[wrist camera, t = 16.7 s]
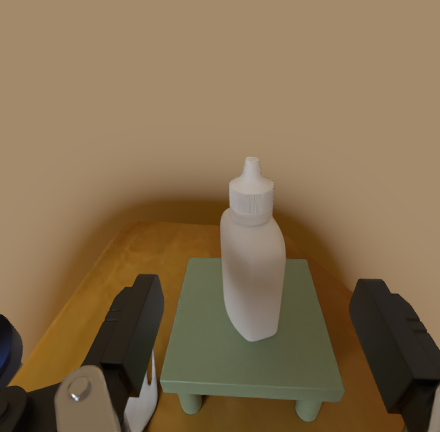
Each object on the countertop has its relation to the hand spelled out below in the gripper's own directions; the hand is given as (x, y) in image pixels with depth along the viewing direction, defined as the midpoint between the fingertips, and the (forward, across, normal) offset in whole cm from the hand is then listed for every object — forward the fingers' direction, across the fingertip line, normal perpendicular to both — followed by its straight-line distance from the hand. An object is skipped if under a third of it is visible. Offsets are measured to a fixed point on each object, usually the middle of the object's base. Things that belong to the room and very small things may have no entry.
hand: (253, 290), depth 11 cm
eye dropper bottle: (+5, 0, +9) cm, 10 cm away
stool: (+6, 0, +14) cm, 16 cm away
